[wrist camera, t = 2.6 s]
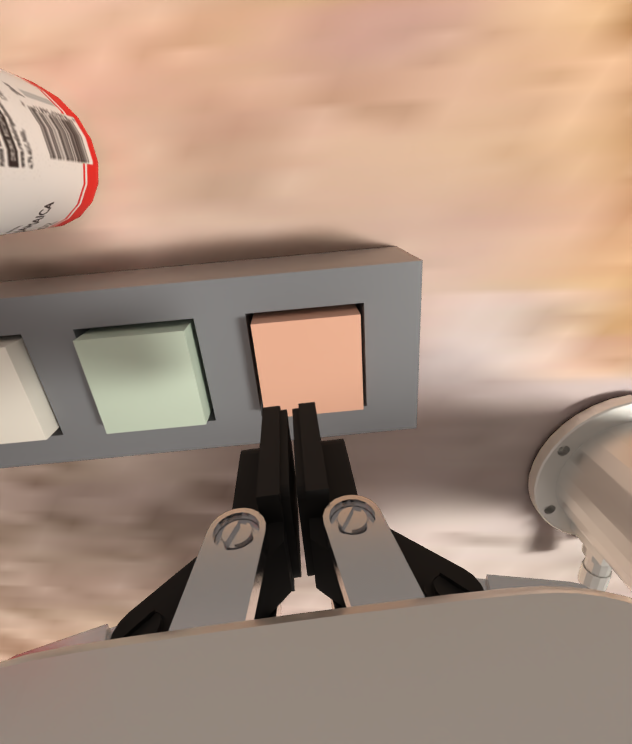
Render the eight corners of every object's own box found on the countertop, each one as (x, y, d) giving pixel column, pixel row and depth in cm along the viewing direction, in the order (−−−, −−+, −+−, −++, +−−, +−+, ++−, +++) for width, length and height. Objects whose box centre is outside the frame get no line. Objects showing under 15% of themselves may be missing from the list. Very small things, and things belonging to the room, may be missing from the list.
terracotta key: (356, 386, 22) (363, 409, 20) (268, 394, 22) (265, 418, 20) (352, 299, 20) (360, 314, 18) (255, 308, 20) (250, 324, 18)
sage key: (215, 399, 22) (206, 424, 20) (126, 407, 22) (106, 433, 20) (197, 314, 20) (184, 330, 18) (99, 323, 20) (72, 341, 17)
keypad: (394, 386, 26) (416, 428, 21) (-14, 425, 26) (-80, 475, 21) (396, 246, 22) (422, 260, 18) (-85, 289, 22) (-185, 315, 17)
